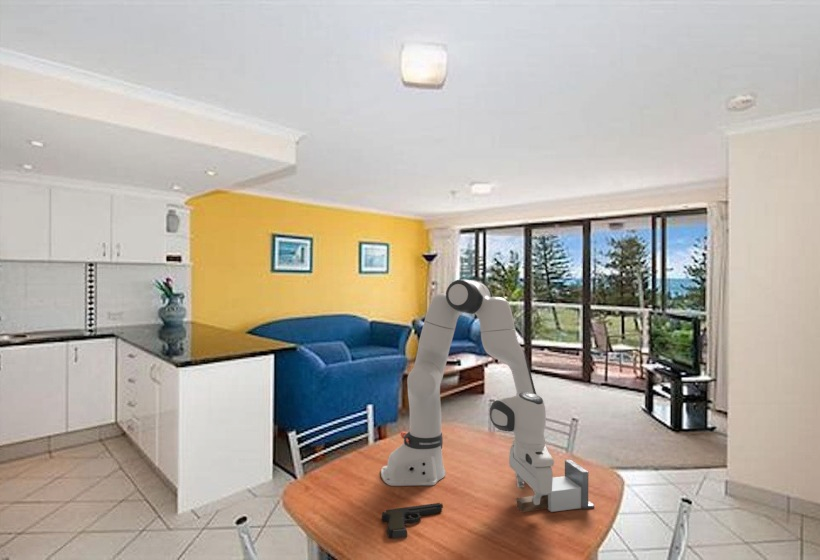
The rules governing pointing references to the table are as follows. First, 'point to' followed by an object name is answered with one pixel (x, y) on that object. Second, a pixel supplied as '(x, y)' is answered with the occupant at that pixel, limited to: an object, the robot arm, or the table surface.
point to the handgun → (406, 518)
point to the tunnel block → (564, 495)
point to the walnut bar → (531, 503)
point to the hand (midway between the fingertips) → (528, 495)
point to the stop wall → (579, 481)
